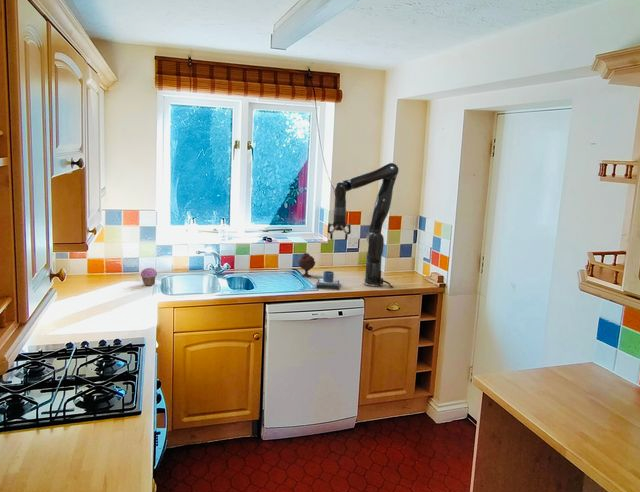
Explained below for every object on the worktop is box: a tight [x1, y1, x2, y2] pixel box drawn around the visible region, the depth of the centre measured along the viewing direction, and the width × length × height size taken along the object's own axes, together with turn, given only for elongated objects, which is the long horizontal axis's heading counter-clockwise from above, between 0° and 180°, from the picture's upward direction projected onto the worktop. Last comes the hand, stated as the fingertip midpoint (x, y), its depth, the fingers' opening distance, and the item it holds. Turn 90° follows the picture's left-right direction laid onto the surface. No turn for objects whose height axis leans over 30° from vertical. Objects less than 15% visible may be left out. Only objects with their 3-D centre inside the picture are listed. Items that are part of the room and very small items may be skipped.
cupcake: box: [140, 267, 158, 287], centre depth 269 cm, size 9×9×10 cm
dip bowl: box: [322, 270, 335, 282], centre depth 281 cm, size 6×6×5 cm
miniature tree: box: [297, 252, 316, 278], centre depth 302 cm, size 11×11×15 cm
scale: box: [316, 278, 340, 290], centre depth 280 cm, size 13×13×3 cm
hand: (338, 240), depth 289 cm, fingers open, 8 cm apart
